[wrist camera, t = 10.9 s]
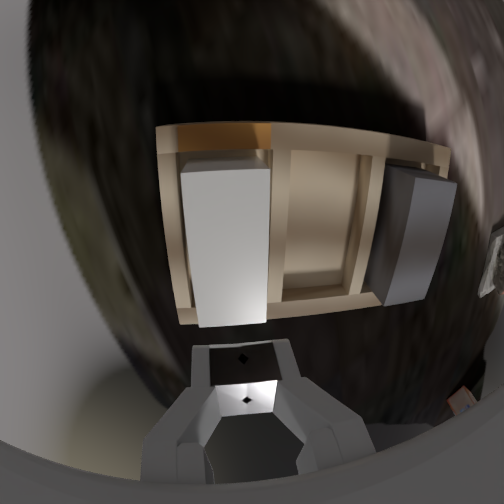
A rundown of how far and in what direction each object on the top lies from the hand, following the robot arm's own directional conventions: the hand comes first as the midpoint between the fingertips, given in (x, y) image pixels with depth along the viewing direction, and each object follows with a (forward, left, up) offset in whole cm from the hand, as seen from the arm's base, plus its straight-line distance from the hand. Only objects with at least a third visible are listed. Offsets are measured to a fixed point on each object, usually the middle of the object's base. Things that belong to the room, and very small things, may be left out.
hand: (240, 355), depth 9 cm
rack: (0, +6, -12) cm, 13 cm away
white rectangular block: (0, 0, -10) cm, 10 cm away
